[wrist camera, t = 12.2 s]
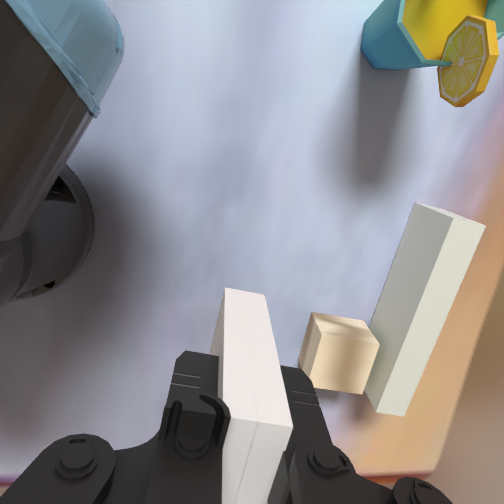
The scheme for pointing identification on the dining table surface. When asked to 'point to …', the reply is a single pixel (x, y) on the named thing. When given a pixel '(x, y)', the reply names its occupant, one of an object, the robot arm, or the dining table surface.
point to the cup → (438, 41)
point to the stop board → (417, 301)
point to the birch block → (338, 353)
